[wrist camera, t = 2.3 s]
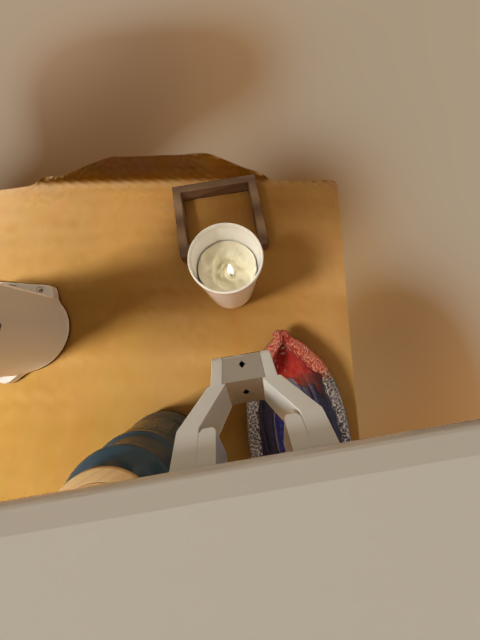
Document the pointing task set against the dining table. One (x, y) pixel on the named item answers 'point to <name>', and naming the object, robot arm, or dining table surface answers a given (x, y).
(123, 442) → the canister
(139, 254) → the dining table surface
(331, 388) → the dish
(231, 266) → the candle holder
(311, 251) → the dining table surface
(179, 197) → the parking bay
